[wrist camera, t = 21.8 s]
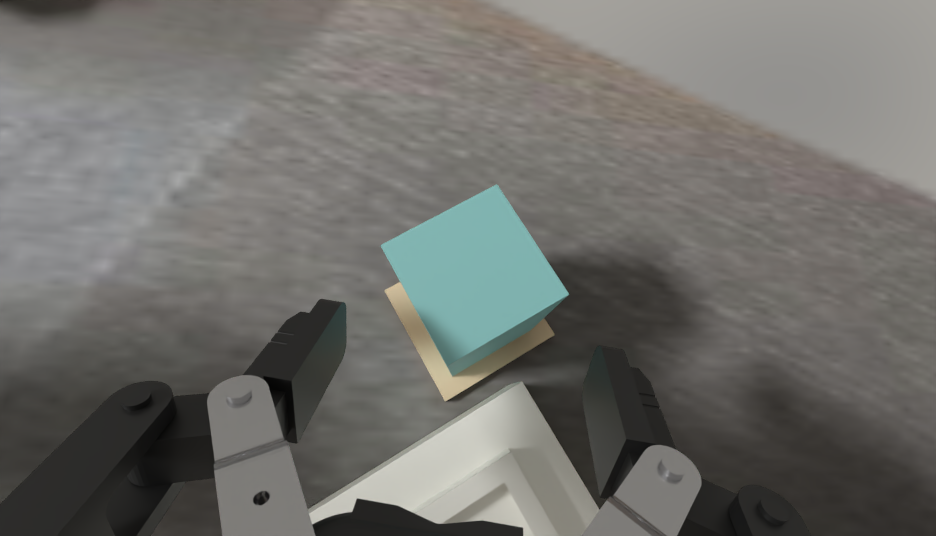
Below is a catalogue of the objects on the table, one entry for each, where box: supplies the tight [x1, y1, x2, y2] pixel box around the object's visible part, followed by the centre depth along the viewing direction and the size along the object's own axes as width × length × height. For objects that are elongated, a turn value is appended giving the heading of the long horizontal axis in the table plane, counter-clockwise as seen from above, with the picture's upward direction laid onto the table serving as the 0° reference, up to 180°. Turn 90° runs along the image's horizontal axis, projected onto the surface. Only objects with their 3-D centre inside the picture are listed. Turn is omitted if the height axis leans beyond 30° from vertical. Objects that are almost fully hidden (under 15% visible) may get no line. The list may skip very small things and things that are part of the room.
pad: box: [385, 282, 555, 402], centre depth 25 cm, size 7×7×1 cm
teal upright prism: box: [381, 184, 569, 377], centre depth 20 cm, size 5×5×9 cm
